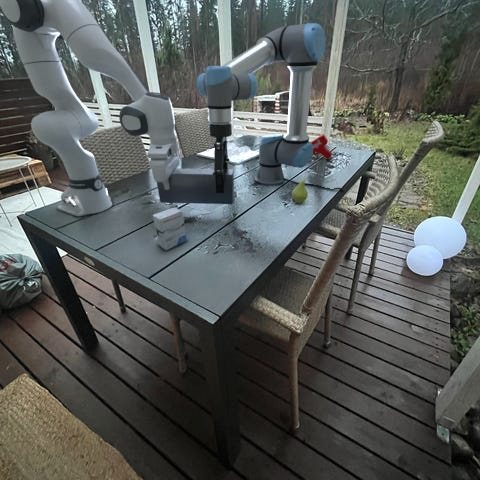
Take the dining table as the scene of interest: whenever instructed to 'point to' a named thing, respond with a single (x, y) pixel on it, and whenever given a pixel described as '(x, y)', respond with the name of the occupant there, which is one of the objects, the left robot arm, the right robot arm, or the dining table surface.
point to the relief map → (233, 153)
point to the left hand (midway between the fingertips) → (170, 185)
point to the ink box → (170, 228)
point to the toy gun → (321, 146)
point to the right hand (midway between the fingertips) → (222, 185)
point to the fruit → (300, 192)
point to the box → (197, 187)
